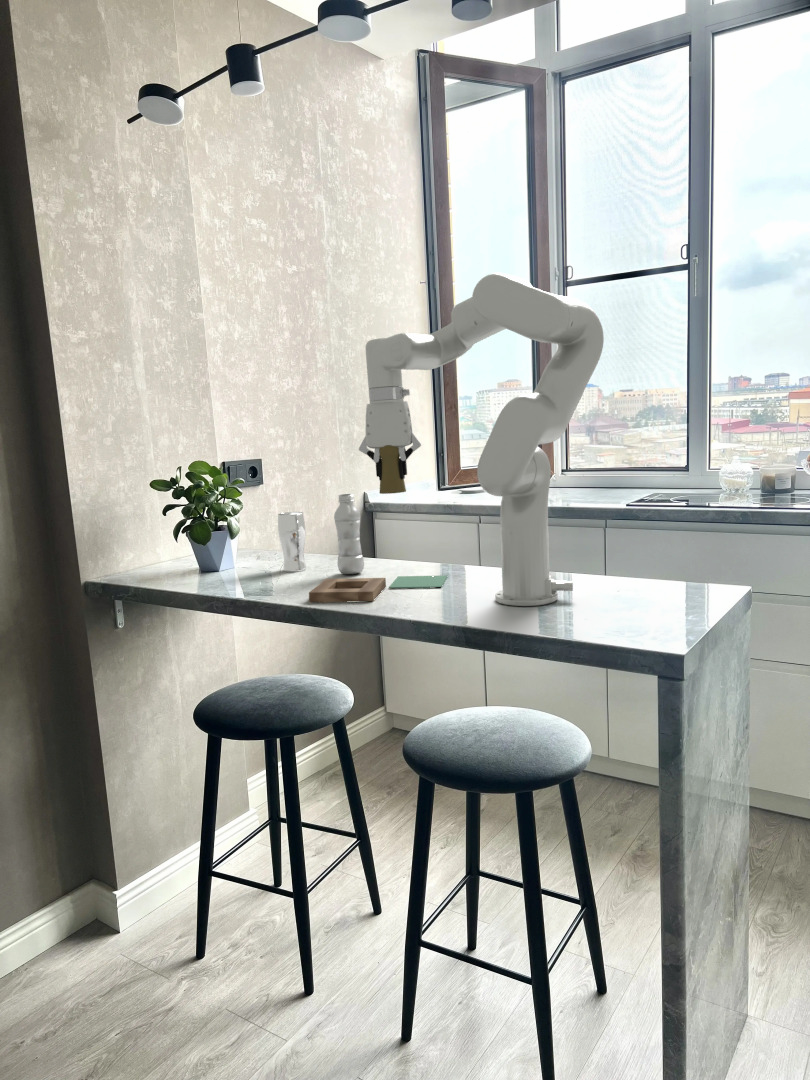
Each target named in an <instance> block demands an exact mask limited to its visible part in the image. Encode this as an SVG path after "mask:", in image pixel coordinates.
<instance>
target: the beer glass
mask: <svg viewBox="0 0 810 1080" xmlns="http://www.w3.org/2000/svg"><path fill="white" fill-rule="evenodd" d="M277 529H278V530H277V531H278V539H279V542H280V546H281V550H282V554H283V567H282V569H283V570H282V571H283V572H286V573H296V572H303V571H306V570H307V565H306V561H305V542H306V524H305V517H304V512H303V511H288V512H280V513H278V514H277Z"/></svg>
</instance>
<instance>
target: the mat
mask: <svg viewBox="0 0 810 1080" xmlns="http://www.w3.org/2000/svg"><path fill="white" fill-rule="evenodd" d="M432 576H434V577H432ZM447 576H448V575H447V574H446V575H412V576H411V575H403V576H402V575H401V576H399V575H398V576H397V577H396V578H395V579H394V580H393V582H392V583H391V584H390V585H389V586H388V589H389V588H423V589H431V588H430V587H442V588H443V586H444V584H445V583H446V581H447V579H448V577H447ZM446 578H447V579H446ZM445 580H446V581H445ZM444 582H445V583H444ZM442 585H443V586H442Z"/></svg>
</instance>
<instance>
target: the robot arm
mask: <svg viewBox="0 0 810 1080" xmlns="http://www.w3.org/2000/svg"><path fill="white" fill-rule="evenodd" d="M450 317H451V322H450V323H448V324H447V325H446V326H444V327H441V328H440V329H438V330H436V331H434V332H432V333H428V334H424V333H423V334H422V333H411V332H401V333H397V334H394V335H392V336H389V337H381V338H374V339H369V340H368V341H367V342H366V345H365V359H366V361H365V362H366V370H367V371H366V373H367V386H368V399H369V403H367V404H366V409H365V411H366V412H365V436H364V437H363V439H362V442H361V443H360V445H359V447H358V450H359V452H361V453H363V454H365V455H367V456H368V457H369V458H370V459H371V460H372V461H373V462H374V463H375V472H376V474H375V475H376V478H378V479H379V481H380V480H382V463H381V457H380V454H379V449H380V448H381V447H383V446H385V445H392V446H395V447H398V449H399V454H400V457H399V458H400V461H399V474H400V478H401V479H404V480H405V478H406V476H407V475H408V465H407V460H408V459H409V458H410V456H412V454H413V453H414V452H415V451H417V450H418V449H420V448H421V446H422V443H421V442H420V441H419V439H418V438H417V437H416V435H415V434H414V433H413V427H412V417H411V412H410V408H409V404H408V401H407V400H406V401H405V400H404V399H405V397H407V396H408V397H409V396H410V389H409V388H408V389H406V388H404V387H403V376H402V374H403V373H402V370H407V371H408V370H410V371H411V370H412V371H414V370H419V371H430V370H433V369H437V368H440V367H442V366H444V365H446V364H449V363H451V362H453V361H454V360H457V359H459V358H460V357H462V356H463V355H465V354H466V353H467V352H468V351H469V350H471V349H472V347H473V346H474V345H475V344H477V343H479V342H481V341H483V340H486V339H487V338H489V337H491V336H493V335H495V334H497V333H500V332H501V331H504V330H509V331H511V332H513V333H515V334H518V335H521V336H522V337H525V338H527V339H529V340H533V341H536V342H539V343H543V344H544V343H545V344H556V345H558V346H557V347H558V348H557V350H556V351H555V353H554V355H553V356H552V357H551V359H550V360H549V361H548V363H547V364H546V366H545V368H544V369H543V372H542V374H541V377H540V378H539V381H538V383H537V385H536V386H535V388H534V390H533V392H532V393H528V394H521V395H517V396H515V397H514V398H512V399H511V400H509V401H508V402H507V403H506V404H505V406H504V407H503V408H502V410H501V411H500V413H499V414H498V417H497V419H496V421H495V423H494V424H493V428H492V430H491V432H490V434H489V436H488V439H487V441H486V443H485V445H484V448H483V450H482V451H481V454H480V457H479V460H478V463H477V468H476V469H477V471H476V474H477V479H478V483H479V485H480V487H481V488H482V489H483V491H485V492H486V493H487V494H489V495H491V496H494V497H502V498H501V502H500V512H499V519H500V520H499V522H500V524H499V526H500V554H501V555H500V556H501V577H502V579H501V580H502V581H501V582H502V590H500V591H497V592H496V593H495V595H494V596H495V598H494V600H495V601H496V602H497V603H499V604H502V605H508V606H515V607H516V606H517V607H533V606H534V607H535V606H542V605H548V604H552V603H554V602H556V601H557V600H558V599H559V596H558V591H559V592H561V591H563V592H573V590H574V588H573V587H574V586H573V585H574V584H573V581H567V580H555V579H552V575H551V574H550V551H549V550H550V549H549V548H550V547H549V544H550V543H549V493H550V492H549V491H550V485H551V477H552V475H551V474H552V472H551V471H552V468H551V461H550V459H549V457H548V454H547V453H546V452H545V451H544V450H543V449H542V448H541V447H539V445H547V444H549V443H553V442H556V441H557V440H559V439H561V438H562V436H563V435H564V434H565V432H566V430H567V428H568V426H569V423H570V422H571V420H572V417H573V415H574V413H575V411H576V410H577V407H578V405H579V403H580V401H581V398H582V397H583V394H584V392H585V390H586V387H587V386H588V383H589V382H590V379H591V377H592V375H593V373H594V372H595V370H596V368H597V366H598V363H599V361H600V359H601V356H602V354H603V349H604V341H605V340H604V339H605V337H604V329H603V326H602V323H601V320H600V319H599V316H598V315H597V313H596V312H595V311H594V309H593V308H591V306H589V305H588V304H587V303H585V302H583V301H581V300H579V299H577V298H574V297H569V296H564V295H558V294H554V293H550V292H547V291H543V290H541V289H540V288H536V287H533V285H532V284H531V283H530V282H529V281H527V280H526V279H524V278H522V277H519V276H515V275H510V274H507V273H502V272H494V273H489V274H487V275H485V276H484V277H482V278H481V279H480V280H479V281H478V282H477V283H476V285H475V287H474V289H473V291H472V296H471V297H469V298H467V299H465V300H462V301H461V302H459V303H457V304H455V305H454V307H453V308H452V310H451V313H450ZM410 445H411V446H410ZM407 446H410V447H409V448H407V449H406V447H407ZM371 449H374V451H373V450H371Z"/></svg>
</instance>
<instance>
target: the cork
mask: <svg viewBox="0 0 810 1080" xmlns="http://www.w3.org/2000/svg"><path fill="white" fill-rule="evenodd" d="M379 454H380V457H381V463H382V480H379V494H382V495H384V494H385V495H388V494H390V495H391V494H399V493H406V492H407V488H406V483H405V478H404V479H401V478H400V474H399V461H400V454H399V449H398V447H395V446H392V445H385V446H383V447H381V448H380V449H379Z"/></svg>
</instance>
